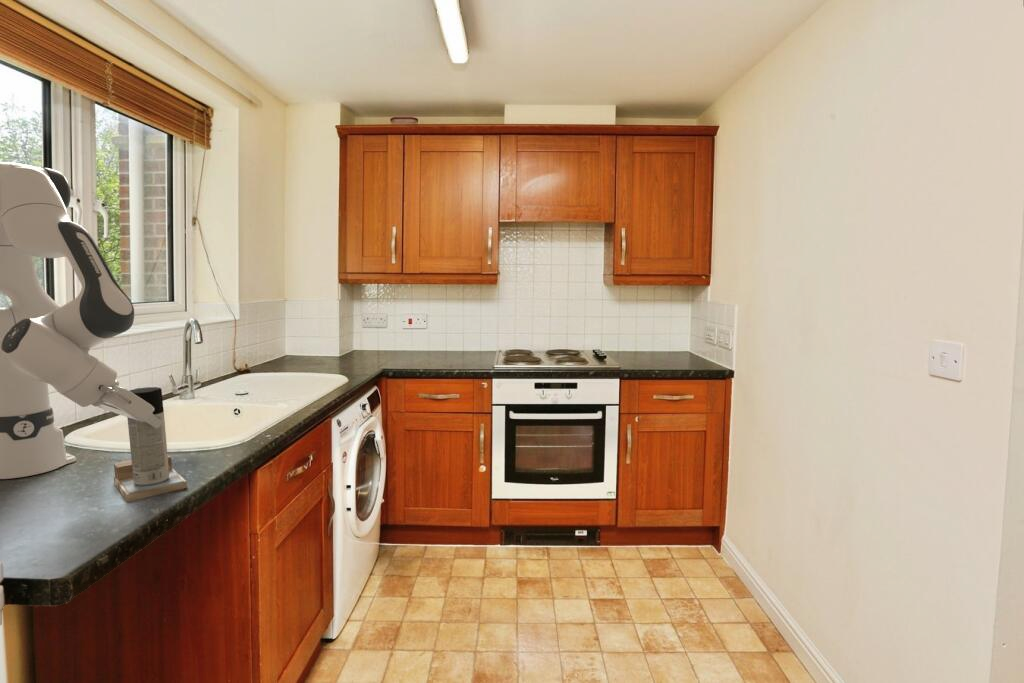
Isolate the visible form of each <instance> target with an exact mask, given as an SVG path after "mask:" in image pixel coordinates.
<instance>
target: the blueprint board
mask: <svg viewBox="0 0 1024 683" xmlns="http://www.w3.org/2000/svg"><path fill="white" fill-rule="evenodd" d="M167 455H168V466H169V478H168V480H166V481H164V482H161V483H158V484H154V485H145V486H138V485H135V484H134V481H133V471H132V460H131V459H130V460H125V461H119V462H114V463H113V468H114V469H113V470H114V476H113V484H114V486H115V487H116V488H117V490H118V491H119V492H120V494H121V495H122V496H123V498H124V499H125V501H126V502H132V501H136V500H141V499H145V498H150V497H155V496H159V495H163V494H167V493H170V492H176V491H179V490H185V489H188V484H187V482H188V481H187V480H186V479H185V478H184V477H183V476H181V474H180V473H178V472H177V471H176V470H175V469H174V468H173V463H172V456H171V455H169V454H168V453H167ZM184 488H185V489H184Z"/></svg>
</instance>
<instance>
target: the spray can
mask: <svg viewBox="0 0 1024 683" xmlns="http://www.w3.org/2000/svg"><path fill="white" fill-rule="evenodd" d="M129 391H130V392H132V393H134V394H135V395H137V396H138V397H140V398H142V399H143V400H145V401H146V402H148V403H149V404H151V405H152V406H153V407H154V408H155V410H154V411H153V414H154V415H155V416H156V417H157V418H158V419H160V420H161V421H162V424H161V425H160V427H159V428H154V427H152V426H151V425H149V424H148V423H146V422H140V421H137V420H134V419H131V418H128V417H126V418H127V427H128V437H129V438H128V439H129V445H130V447H129V449H130V457H131V458H130V460H132V471H133V481H134V484H135V485H138V486H145V485H154V484H158V483H161V482H164V481H166V480H168V478H169V466H168V455H169V454H168V444H167V433H166V422H165V411H164V410H165V409H164V402H163V390H162V388H161V387H157V386H150V387H149V386H147V387H146V386H145V387H138V388H134V389H130V390H129ZM130 403H131V401H130ZM130 403H129V404H130ZM167 454H168V455H167Z"/></svg>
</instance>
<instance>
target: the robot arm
mask: <svg viewBox="0 0 1024 683" xmlns="http://www.w3.org/2000/svg"><path fill="white" fill-rule="evenodd" d="M70 203H71V187H70V184H69V181H68V179H67V178H66V176H65V175H64V174H63V173H62V172H61V171H59V170H56V169H52V168H48V167H44V166H43V167H42V166H41V167H37V166H34V165H28V164H22V163H16V162H1V161H0V295H1V294H2V295H4V296H7V297H8V299H9V300H10V302H11V306H5V307H4V306H2V307H1V306H0V480H9V479H17V478H24V477H29V476H34V475H35V476H36V475H39V474H44V473H47V472H50V471H54V470H56V469H59V468H60V467H63V466H65V465H67V464H71V463H75V462H76V461H77V458H76V456H75V455H72V454H70V453H68V452H66V451H67V450H66V444H65V437H64V432H63V430H62V429H61V428H59V427H58V426H56V425H55V424H54V423H55V412H54V410H53V408H52V407H51V404H50V393H49V387H48V386H49V385H50V386H51V387H53V389H55V390H56V391H57V392H58V393H59V394H60V395H62V396H64V397H65V398H67V399H69V400H70V401H71V402H73V403H75V404H76V405H78V406H80V407H81V408H86V407H88V406H93V407H98V408H100V409H103V410H105V411H107V412H108V411H109V412H111V413H114V414H116V415H120V416H124V417H126V418H127V417H128V418H131V419H134V420H137V421H140V422H146V423H148V424H149V425H151V426H152V427H154V428H159V427H160V425H161V424H162V421H161V420H160V419H158V418H157V417H156V416H155V415H154V414H153V411H154V410H155V408H154V407H153V406H152V405H151V404H149V403H148V402H146V401H145V400H143V399H142V398H140V397H138V396H137V395H135V394H134V393H132V392H130V390H129V389H127V388H124V387H123V386H120V381H119V380H118V379H117V376H118V373H117V371H116V370H115V369H113V368H112V367H110V366H108V365H107V364H106V363H105V362H103V361H102V360H100V359H98V358H97V357H95V356H93V355H91V354H89V352H90V350H91V349H92V348H95V347H96V346H98V345H100V344H102V343H103V342H106V341H107V340H109V339H111V338H114V337H116V336H119V335H121V334H123V333H125V332H127V331H129V330H130V329H131V328H132V326H133V324H134V320H135V308H134V305H133V303H132V301H131V300H130V298H129V297H128V296H127V294H126V293H125V292H124V290H123V289H122V288H121V287H120V285H119V284H118V281H117V280H116V278H115V277H114V275H113V273H112V271H111V269H110V267H109V266H108V264H107V262H106V260H105V258H104V256H103V255H102V254H103V253H102V252H101V251H100V249H99V248H98V245H97V244H96V242H95V240H94V239H93V237H92V236H91V235H90V233H89V232H88V231H87V230H86V229H85V228H84V227H83V226H82V225H80V224H78V223H77V222H74V221H71V218H70V217H69V213H68V211H67V209H68V207H69V205H70ZM36 257H37V258H42V259H43V258H44V259H59V258H64V257H66V258H67V261H69V264H70V266H71V267H72V269H73V271H74V273H75V275H76V277H77V278H78V280H79V282H80V284H81V285H80V286H81V290H80V292H79V293H78V295H77V296H76V297H75V298H73V299H72V300H70V301H68V302H67V303H66V304H64V305H61V304H60V303H58V302H57V301H56V300H54V299H53V298H52V297H51V296H50V295H49V294H48V292H46V291H45V289H44V288H43V286H42V284H41V282H40V280H39V276H38V273H37V268H36V267H37V266H36V263H35V258H36ZM130 401H131V403H130ZM129 403H130V404H129ZM128 418H127V419H128Z"/></svg>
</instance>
